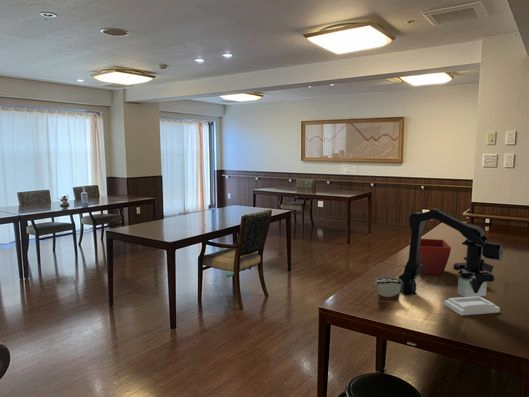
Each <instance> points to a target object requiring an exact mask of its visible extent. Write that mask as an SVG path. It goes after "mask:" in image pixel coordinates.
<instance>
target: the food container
mask: <svg viewBox="0 0 529 397" xmlns="http://www.w3.org/2000/svg"><path fill="white" fill-rule="evenodd" d="M374 284H375V286H376V291H377V292H376V293H377V302H379V303H386V302H387V303H389V302H391V301H396V302H399V301H400V295H401V292H400V289H401V284H402V280H400V279H399V277H397V278H396V277H393V276H379V277H377V278H376V280H375V282H374ZM402 285H403V284H402ZM391 303H392V302H391Z"/></svg>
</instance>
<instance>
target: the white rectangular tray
mask: <svg viewBox="0 0 529 397" xmlns="http://www.w3.org/2000/svg"><path fill="white" fill-rule="evenodd" d="M443 306H445V307H447V308H448V309H450V310H452V311H454V312H455V313H456V314H458V315H460V316H470V315H482V314H483V315H484V314H494V313H500V311H501V310H500V309H501V307H499V306H497V305H496V304H495V303H494V302H491V301H489V300H488V299H485V298H483V296H474V297H464V296H461V297H450V298H448V299H444V300H443Z"/></svg>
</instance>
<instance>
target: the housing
mask: <svg viewBox="0 0 529 397" xmlns="http://www.w3.org/2000/svg"><path fill="white" fill-rule="evenodd" d="M472 278H475V277H461V276H460V277H458V278H457V279H458V280H457V282H458V283H457V294H458V295H460V296H461V297H474V296H480V297H485V296H487V284H488V282H483V283H482V285H481V287H480V289H479V291H478V293H475V292H474V288H473V283H472Z"/></svg>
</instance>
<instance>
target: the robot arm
mask: <svg viewBox="0 0 529 397" xmlns="http://www.w3.org/2000/svg"><path fill="white" fill-rule="evenodd" d="M432 219H434V220H436V221H439V222H441V223H442V224H444V225H446V226H448V227H450V228H451V229H454V230H456V231H457V232H458V233H460V234H461V236H463V237H464V238H466V239H465V241H463V242H462V243H461V245H463V246H466V255H465V256H464V257H463V260H465V262H455V263H454V264H453V268H452V269H453V270H454V271H457V274H459V276H460V277H471V276H472V275H473V274H474V275H475V278H472V283H473V288H474V292H475V293H478V291H479V289H480V287H481V285H482V283H483V282H487V283H489V282H490V283H491V282H494V281H495V276H494V274H492V272H493V270H494V267H495V265H493V264H490V263H487V262H486V261H485V260H484V259H483V258H482V257H484V258H485V259H489V260H494V261H499V262H500V261H502V260H503V255H504V251H503V247H502V245H503V244H502V243H496V242H495V243H494V242H490V240H489V239H488V237H487V236H486V234H485V230H484V229H483V228H482V227H481V226H478V225H476V224H475V225H474V224H471V223H466V222H464V221H462V220H460V219H458V218H456V217H453V216H452V215H449V214H448V213H446V212H444V211H442V210H440V209H439V208H433V209H431V210H429V211H426V212H423V211H417V212H414V213H411V215H409V217H408V224H409V225H408V226H409V228H410V238H411V240H410V243H409V252H408V260H407V262H406V264H405V266H404V269H403V272H402V274H400V275H399V276H398V279H400V280H402V284H403V285H402V284H401V289H400V294H402V295H405V296H409V295H417V294H418V293H417V283H416V280H417V277H420V275H422V274H421V273H422V267H423V264H420V263H419V253H420V243H421V239H422V234H423V233H422V232H423V230H424V228H425V226H426V223H427V221H428V220H432Z"/></svg>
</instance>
